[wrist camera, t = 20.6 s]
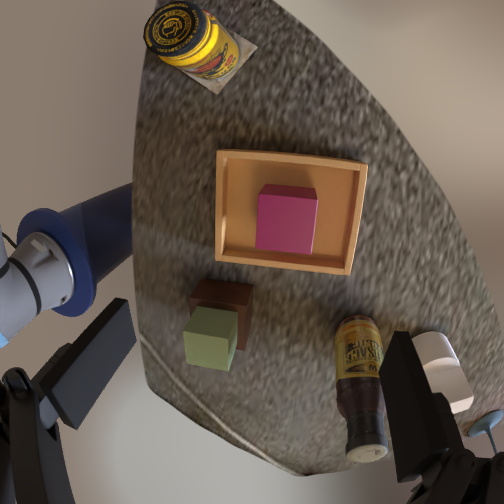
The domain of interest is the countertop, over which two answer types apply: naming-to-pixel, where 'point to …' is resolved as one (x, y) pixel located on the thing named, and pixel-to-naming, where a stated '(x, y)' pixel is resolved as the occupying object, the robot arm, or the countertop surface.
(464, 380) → the base with upright slab
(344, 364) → the sauce bottle
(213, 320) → the sage block
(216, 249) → the oak tray
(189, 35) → the condiment
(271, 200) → the mulberry block
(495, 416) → the cocktail glass
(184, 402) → the countertop surface
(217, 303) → the walnut block
